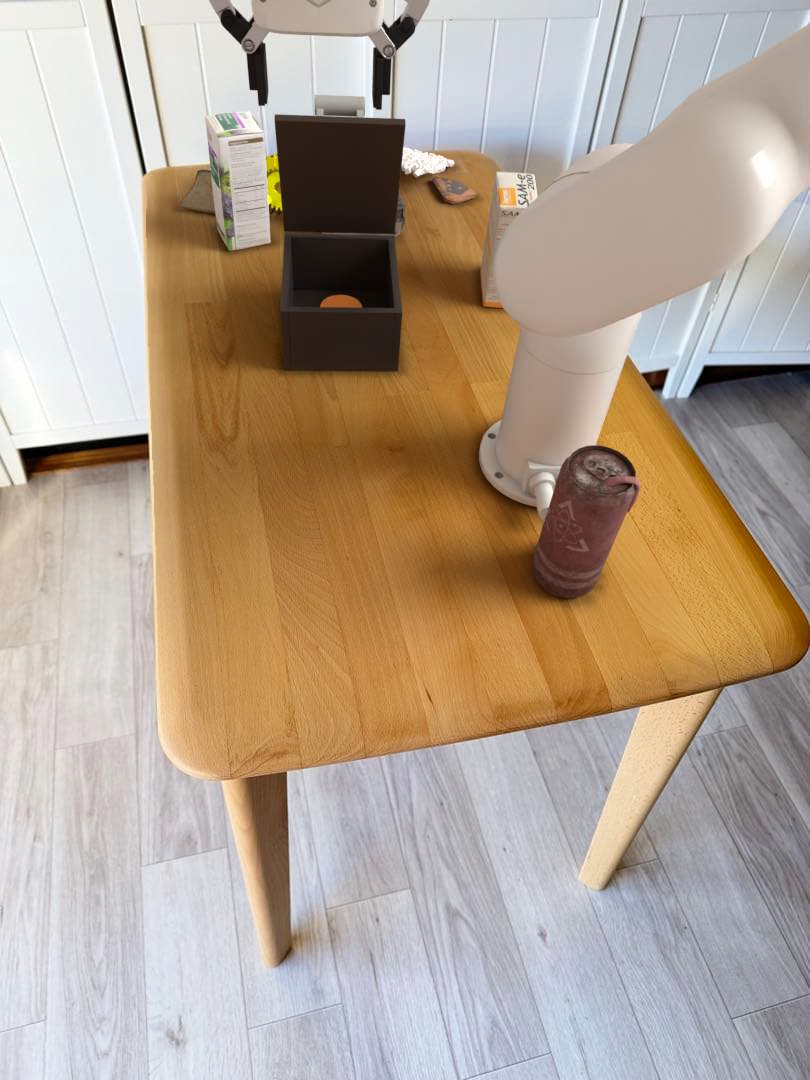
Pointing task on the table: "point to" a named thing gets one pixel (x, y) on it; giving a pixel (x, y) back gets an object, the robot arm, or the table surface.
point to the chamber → (340, 331)
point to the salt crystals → (423, 162)
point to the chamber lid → (339, 168)
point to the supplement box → (503, 222)
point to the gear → (273, 185)
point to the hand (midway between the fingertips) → (320, 100)
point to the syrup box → (239, 179)
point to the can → (583, 520)
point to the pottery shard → (453, 190)
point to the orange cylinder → (341, 302)
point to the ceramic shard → (200, 194)
